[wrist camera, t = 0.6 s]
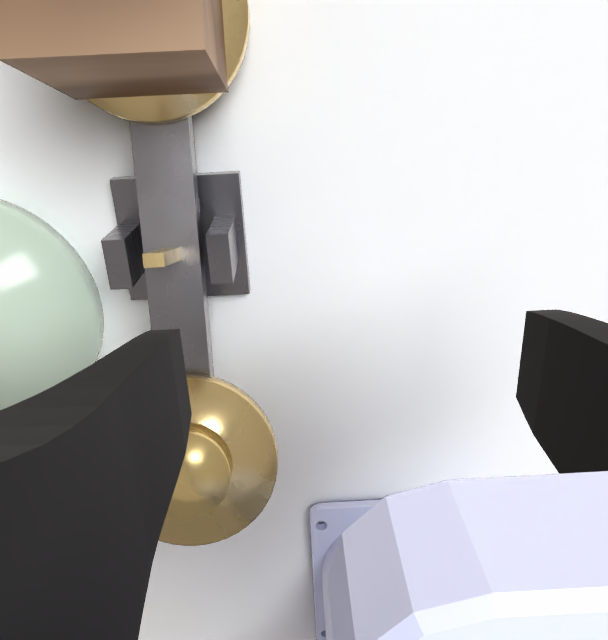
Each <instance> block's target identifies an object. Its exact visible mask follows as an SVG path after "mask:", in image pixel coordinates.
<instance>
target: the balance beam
mask: <svg viewBox="0 0 608 640" xmlns="http://www.w3.org/2000/svg"><path fill="white" fill-rule="evenodd" d="M222 11H223V25H224V39H225V54H226V68H227V82H228V87H229V85H230V84H231V82H232V81H233V80H234V78H235V76H236V74H237V72H238V70H239V69H240V66H241V63H242V61H243V58H244V56H245V52H246V48H247V44H248V37H249V29H250V17H249V6H248V0H222ZM223 93H224V92H222V93H201V94H180V95H159V96H138V97H118V98H97V99H87V100H88V101H90V102H91V103H93V104H94V105H96V106H98V107H99V108H101V109H103V110H105V111H106V112H108V113H110V114H113V115H115V116H117V117H120V118H122V119H126V120H129V121H130V131H131V140H132V150H133V159H134V169H135V178H136V188H137V198H138V207H139V217H140V226H141V236H142V245H143V254H142V257H143V267H144V268H145V274H146V283H147V293H148V302H149V312H150V321H151V330H169V329H180V335H181V342H182V349H183V356H184V363H185V370H186V377H187V384H188V391H189V398H190V405H191V412H192V416H191V422H192V423H198V424H202V425H204V426H207V427H209V428H210V429H212V430H214V431H215V432H216V433H218V434H219V435H220V436H221V437H222V438H223V440H224V441H225V442H226V444H227V445H228V447H229V450H230V452H231V455H232V461H233V469H232V475H231V479H230V484H229V488H228V491H227V494H226V496H225V498H224V500H223V501H222V503H221V504H220V505H219V506H218V507H217V508H216V509H215V510H214V511H213V512H211V513H210V514H208V515H206V516H204V517H202V518H199V519H196V520H191V521H177V520H172V519H168V518H165V521H164V524H163V527H162V530H161V533H160V537H159V541H162V542H166V543H170V544H176V545H184V546H196V545H204V544H210V543H214V542H218V541H221V540H223V539H226V538H229V537H230V536H232V535H234V534H236V533H238V532H240V531H241V530H242V529H244V528H245V527H247V526H248V525H249V524H250V523H251V522H252V521H253V520H254V519H255V518H256V517H257V516H258V515H259V514H260V513H261V511H262V510H263V508H264V507H265V505H266V504H267V502H268V500H269V498H270V496H271V494H272V491H273V488H274V485H275V481H276V475H277V464H278V451H277V444H276V439H275V435H274V432H273V429H272V427H271V425H270V422H269V420H268V419H267V417H266V415H265V414H264V412H263V411H262V409H261V408H260V407H259V406H258V404H257V403H256V402H255V401H254V400H253V399H252V398H251V397H250V396H249V395H247V394H246V393H245V392H243V391H242V390H241V389H239V388H238V387H236V386H234V385H232V384H230V383H229V382H226V381H224V380H221V379H219V378H215V377H214V371H213V359H212V347H211V335H210V324H209V312H208V300H207V288H206V276H205V265H204V253H203V241H202V229H201V217H200V206H199V194H198V182H197V170H196V158H195V147H194V135H193V123H192V116H193V115H195V114H197V113H199V112H201V111H202V110H204V109H206V108H207V107H208V106H210V105H211V104H212V103H213V102H215V101H216V100H217V99H218V98H219V97H220V96H221V95H222V94H223Z"/></svg>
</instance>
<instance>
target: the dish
mask: <svg viewBox="0 0 608 640" xmlns="http://www.w3.org/2000/svg"><path fill="white" fill-rule="evenodd" d="M103 326H104V318H103V310H102V304H101V300H100V296H99V293H98V289H97V287H96V285H95V282H94V280H93V277H92V275H91V274H90V272H89V270H88V268H87V267H86V265H85V263H84V261H83V260H82V259H81V257H80V256H79V255H78V253H77V252H76V251H75V249H74V248H73V247H72V246H71V245H70V244H69V243H68V242H67V241H66V240H65V239H64V237H63V236H62V235H60V234H59V233H58V232H57V231H56V230H55V229H53V228H52V227H51V226H50V225H49V224H47V223H46V222H44V221H43V220H41V219H40V218H38V217H37V216H35V215H34V214H32V213H30V212H28V211H26V210H25V209H23V208H21V207H19V206H17V205H14V204H12V203H9V202H7V201H4V200H1V199H0V410H2V409H5V408H7V407H10V406H12V405H14V404H16V403H19V402H21V401H23V400H25V399H28V398H30V397H32V396H34V395H36V394H38V393H41V392H43V391H45V390H47V389H49V388H51V387H53V386H54V385H56V384H58V383H60V382H62V381H63V380H65V379H67V378H69V377H71V376H72V375H74V374H76V373H78V372H79V371H81V370H83V369H85V368H86V367H88V366H90V365H92V364H93V363H95V361H96V359H97V357H98V354H99V351H100V348H101V344H102V338H103Z"/></svg>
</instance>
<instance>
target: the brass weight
mask: <svg viewBox="0 0 608 640" xmlns="http://www.w3.org/2000/svg"><path fill="white" fill-rule="evenodd" d="M232 469H233V461H232V455H231V452H230V450H229V447H228V445H227V444H226V442H225V441H224V440H223V438H222V437H221V436H220V435H219V434H218V433H216V432H215V431H214V430H212V429H210V428H209V427H207V426H204V425H202V424H198V423H192V422H191V423H190V430H189V436H188V442H187V448H186V454H185V457H184V460H183V464H182V467H181V470H180V473H179V477H178V480H177V483H176V486H175V489H174V493H173V496H172V499H171V502H170V505H169V508H168V511H167V515H166V518H168V519H172V520H177V521H191V520H196V519H199V518H202V517H204V516H206V515H208V514H210V513H211V512H213V511H214V510H215V509H216V508H217V507H218V506H219V505H220V504H221V503H222V501H223V500H224V498H225V496H226V494H227V491H228V488H229V484H230V479H231V475H232Z"/></svg>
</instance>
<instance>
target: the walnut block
mask: <svg viewBox="0 0 608 640" xmlns="http://www.w3.org/2000/svg"><path fill="white" fill-rule="evenodd" d="M0 61H2V62H4V63H6V64H8V65H10V66H12V67H14V68H16V69H18V70H20V71H22V72H24V73H26V74H28V75H29V76H31V77H33V78H35V79H37V80H39V81H41V82H43V83H45V84H47V85H49V86H51V87H53V88H55V89H57V90H59V91H60V92H62V93H64V94H66V95H68V96H70V97H72V98H74V99H97V98H118V97H138V96H159V95H180V94H201V93H222V92H228V82H227V68H226V54H225V39H224V25H223V11H222V0H0Z"/></svg>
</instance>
